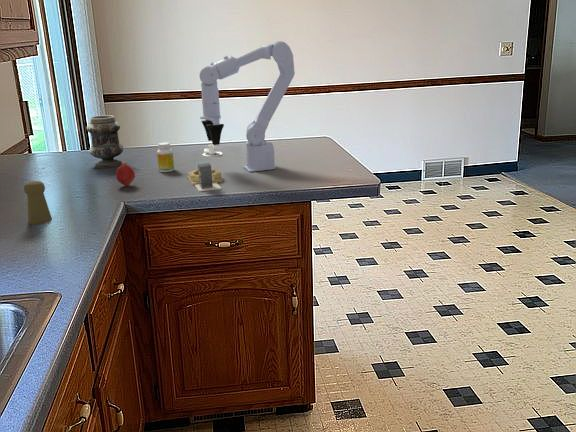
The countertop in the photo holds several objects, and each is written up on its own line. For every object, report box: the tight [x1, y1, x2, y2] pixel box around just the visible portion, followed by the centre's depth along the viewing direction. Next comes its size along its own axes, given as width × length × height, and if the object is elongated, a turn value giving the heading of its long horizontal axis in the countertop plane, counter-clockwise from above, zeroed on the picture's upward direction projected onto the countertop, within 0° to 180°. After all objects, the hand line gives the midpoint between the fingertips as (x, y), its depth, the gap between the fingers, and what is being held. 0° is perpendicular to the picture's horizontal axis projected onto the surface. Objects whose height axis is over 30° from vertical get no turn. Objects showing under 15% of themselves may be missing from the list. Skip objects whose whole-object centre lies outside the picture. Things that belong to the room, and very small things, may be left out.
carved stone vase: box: [86, 114, 124, 169], centre depth 220 cm, size 12×12×18 cm
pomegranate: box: [115, 161, 136, 187], centre depth 192 cm, size 6×6×8 cm
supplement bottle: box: [156, 141, 175, 173], centre depth 210 cm, size 5×5×10 cm
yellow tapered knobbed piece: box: [23, 180, 53, 226], centre depth 161 cm, size 6×6×11 cm
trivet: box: [194, 182, 222, 193], centre depth 188 cm, size 7×7×1 cm
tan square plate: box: [187, 175, 224, 186], centre depth 197 cm, size 10×10×1 cm
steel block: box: [197, 162, 213, 189], centre depth 187 cm, size 4×4×7 cm
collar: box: [188, 168, 222, 182], centre depth 197 cm, size 10×10×2 cm
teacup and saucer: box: [201, 143, 223, 157], centre depth 234 cm, size 9×8×4 cm
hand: (213, 142), depth 206 cm, fingers open, 7 cm apart
